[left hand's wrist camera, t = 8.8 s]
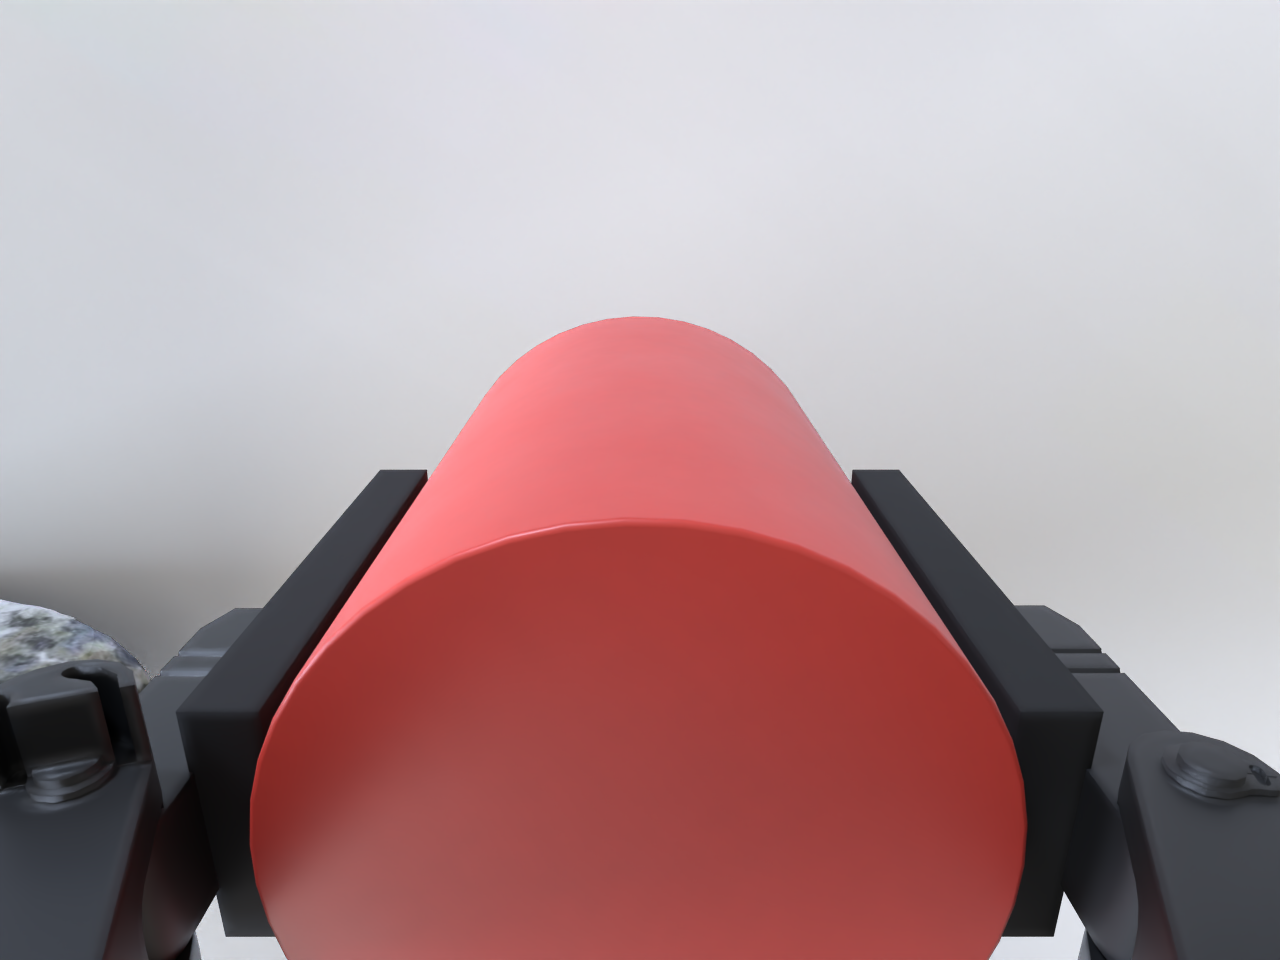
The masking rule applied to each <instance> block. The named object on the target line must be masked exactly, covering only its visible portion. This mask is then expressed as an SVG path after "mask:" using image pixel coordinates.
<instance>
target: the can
mask: <svg viewBox="0 0 1280 960" xmlns="http://www.w3.org/2000/svg"><path fill="white" fill-rule="evenodd" d="M1026 838H1027V812H1026V801H1025V790H1024V781H1023V777H1022V773H1021V769H1020V766H1019V762H1018V758H1017V754H1016V751H1015V747H1014V743H1013V740H1012V737H1011V735H1010V733H1009V731H1008V729H1007V727H1006V724H1005V722H1004V720H1003V718H1002V716H1001V713H1000V711H999V709H998V707H997V705H996V702H995V700H994V699H993V697H992V696H991V694H990V693H989V691H988V690H987V688H986V687H985V685H984V684H983V682H982V680H981V679H980V677H979V676H978V674H977V673H976V671H975V670H974V668H973V667H972V665H971V664H970V662H969V661H968V659H967V658H966V656H965V655H964V653H963V652H962V650H961V649H960V647H959V646H958V644H957V643H956V641H955V640H954V638H953V637H952V635H951V634H950V632H949V631H948V629H947V628H946V626H945V625H944V623H943V622H942V620H941V619H940V617H939V616H938V614H937V613H936V611H935V610H934V608H933V606H932V605H931V603H930V602H929V600H928V599H927V597H926V596H925V594H924V593H923V591H922V590H921V588H920V587H919V585H918V584H917V582H916V581H915V579H914V578H913V576H912V575H911V573H910V572H909V570H908V569H907V567H906V566H905V564H904V563H903V561H902V560H901V558H900V557H899V555H898V554H897V552H896V551H895V549H894V548H893V546H892V545H891V543H890V542H889V540H888V539H887V537H886V536H885V534H884V532H883V531H882V529H881V528H880V526H879V525H878V523H877V522H876V520H875V519H874V517H873V516H872V514H871V513H870V511H869V510H868V508H867V507H866V505H865V504H864V502H863V501H862V499H861V498H860V496H859V495H858V493H857V492H856V490H855V489H854V487H853V486H852V484H851V483H850V481H849V480H848V478H847V477H846V475H845V474H844V472H843V471H842V469H841V468H840V466H839V465H838V463H837V462H836V460H835V458H834V457H833V455H832V454H831V452H830V451H829V449H828V448H827V446H826V445H825V443H824V442H823V440H822V439H821V437H820V436H819V434H818V433H817V431H816V430H815V428H814V427H813V425H812V424H811V422H810V421H809V419H808V418H807V416H806V415H805V413H804V412H803V410H802V409H801V407H800V406H799V404H798V403H797V401H796V400H795V398H794V397H793V395H792V394H791V392H790V391H789V389H788V388H787V386H786V385H785V384H784V383H783V382H782V381H781V380H780V379H779V377H778V376H777V375H776V374H775V373H774V372H773V371H772V370H771V369H770V368H769V367H768V366H767V365H766V364H764V363H763V362H762V361H761V360H760V359H759V358H757V357H756V356H755V355H754V354H753V353H751V352H750V351H748V350H747V349H745V348H743V347H742V346H740V345H739V344H737V343H736V342H734V341H732V340H731V339H729V338H726V337H724V336H722V335H720V334H718V333H716V332H713V331H711V330H709V329H706V328H703V327H700V326H696V325H693V324H690V323H687V322H683V321H677V320H671V319H665V318H659V317H623V318H613V319H606V320H601V321H597V322H593V323H588V324H584V325H581V326H578V327H576V328H573V329H570V330H568V331H565V332H562V333H560V334H558V335H556V336H554V337H552V338H550V339H548V340H546V341H545V342H543V343H541V344H539V345H537V346H536V347H534V348H533V349H532V350H530V351H529V352H528V353H526V354H525V355H523V356H522V357H521V358H519V359H518V360H517V361H516V362H515V363H514V364H513V365H512V366H510V367H509V368H508V369H507V370H506V371H505V372H504V373H503V374H502V375H501V376H500V377H499V378H498V380H497V381H496V382H495V384H494V385H493V386H492V387H491V389H490V390H489V391H488V392H487V394H486V395H485V396H484V398H483V399H482V401H481V402H480V404H479V405H478V407H477V408H476V410H475V411H474V413H473V414H472V416H471V417H470V419H469V420H468V422H467V423H466V425H465V426H464V428H463V429H462V431H461V432H460V434H459V435H458V437H457V438H456V440H455V441H454V443H453V444H452V446H451V447H450V449H449V450H448V451H447V453H446V454H445V456H444V457H443V459H442V460H441V462H440V463H439V465H438V466H437V468H436V469H435V471H434V472H433V474H432V475H431V477H430V478H429V480H428V481H427V483H426V484H425V486H424V487H423V489H422V490H421V492H420V493H419V495H418V496H417V498H416V499H415V501H414V502H413V504H412V505H411V507H410V508H409V510H408V511H407V513H406V514H405V516H404V517H403V519H402V520H401V522H400V523H399V525H398V526H397V527H396V529H395V530H394V532H393V533H392V535H391V536H390V538H389V539H388V541H387V542H386V544H385V545H384V547H383V548H382V550H381V551H380V553H379V554H378V556H377V557H376V559H375V560H374V562H373V563H372V565H371V566H370V568H369V569H368V571H367V572H366V574H365V575H364V577H363V578H362V580H361V581H360V583H359V584H358V586H357V587H356V589H355V590H354V592H353V593H352V595H351V596H350V598H349V599H348V601H347V602H346V603H345V605H344V606H343V608H342V609H341V611H340V612H339V614H338V615H337V617H336V618H335V620H334V621H333V623H332V624H331V626H330V627H329V629H328V630H327V632H326V633H325V635H324V636H323V638H322V639H321V641H320V642H319V644H318V645H317V647H316V648H315V650H314V651H313V653H312V654H311V656H310V657H309V659H308V660H307V662H306V663H305V665H304V666H303V668H302V669H301V671H300V672H299V674H298V675H297V676H296V678H295V680H294V681H293V683H292V685H291V687H290V688H289V690H288V692H287V694H286V695H285V697H284V699H283V701H282V703H281V704H280V706H279V708H278V710H277V711H276V713H275V715H274V717H273V719H272V721H271V724H270V727H269V730H268V732H267V735H266V738H265V740H264V743H263V746H262V749H261V751H260V754H259V757H258V760H257V766H256V771H255V777H254V782H253V788H252V793H251V799H250V850H251V856H252V862H253V869H254V875H255V882H256V886H257V889H258V892H259V895H260V898H261V901H262V904H263V907H264V911H265V914H266V917H267V920H268V922H269V924H270V926H271V928H272V930H273V932H274V934H275V936H276V938H277V940H278V942H279V944H280V946H281V948H282V950H283V952H284V954H285V956H286V958H287V959H288V960H989V958H990V956H991V955H992V953H993V951H994V950H995V948H996V946H997V945H998V943H999V941H1000V939H1001V937H1002V934H1003V932H1004V929H1005V927H1006V925H1007V922H1008V920H1009V917H1010V915H1011V913H1012V910H1013V908H1014V905H1015V902H1016V898H1017V894H1018V890H1019V886H1020V882H1021V878H1022V873H1023V869H1024V864H1025V851H1026Z"/></svg>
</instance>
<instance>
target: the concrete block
mask: <svg viewBox="0 0 1280 960" xmlns="http://www.w3.org/2000/svg"><path fill="white" fill-rule="evenodd" d="M92 659H100V660H107V661H114V662H120V663H122V664H123V665H124V666H126V667H127V668H129V669H130V670H132V671H133V673H134V677H135V681H136V686H137V690H138V694H139V693H140V692H141V691H142V690H143V689H144V688H145V687H146V686H147V685H148V684H149V683H150V682H151V679H150V677H149V675H148V673H147V672H146V671H145V670H144V668H143V667H142V666H141V665H140V664H139V662H138V661H137V660H136V659H135V658H134V657H133V656H132V655H131V654H130V653H129V652H127V651H126V650H125V649H124V648H123V647H122V646H121V645H120V644H118V643H117V642H116V641H115V640H113V639H112V638H111V637H110V636H108V635H105V634H103V633H101V632H99V631H97V630H94V629H92V628H91V627H90V626H88V625H85V624H83V623H81V622H79V621H78V620H77V619H76V618H74V617H71V616H68V615H64V614H61V613H59V612H57V611H55V610H51V609H47V608H43V607H40V606H33V605H25V604H19V603H15V602H10V601H6V600H1V599H0V684H1V683H3V682H5V681H8V680H10V679H13V678H15V677H18V676H20V675H23V674H25V673H28V672H30V671H33V670H35V669H39V668H43V667H47V666H51V665H55V664H59V663H64V662H68V661H79V660H92Z"/></svg>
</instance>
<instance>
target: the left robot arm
mask: <svg viewBox="0 0 1280 960" xmlns="http://www.w3.org/2000/svg"><path fill="white" fill-rule="evenodd" d="M427 481H428V477H427V470H380V471H379V472H378V473H377V475H376V476H375V477H374V478H373V479H372V480H371V482H370V483H369V484H368V485H367V486H366V487H365V489H364V490H363V491H362V492H361V493H360V495H359V496H358V497H357V498H356V499H355V500H354V502H353V503H352V504H351V505H350V506H349V508H348V509H347V510H346V511H345V512H344V513H343V515H342V516H341V517H340V518H339V519H338V520H337V522H336V523H335V524H334V525H333V526H332V528H331V529H330V530H329V531H328V532H327V533H326V535H325V536H324V537H323V538H322V539H321V541H320V542H319V543H318V544H317V545H316V546H315V548H314V549H313V550H312V551H311V552H310V554H309V555H308V556H307V557H306V558H305V559H304V561H303V562H302V563H301V564H300V565H299V566H298V568H297V569H296V570H295V571H294V572H293V574H292V575H291V576H290V577H289V578H288V579H287V581H286V582H285V583H284V584H283V585H282V587H281V588H280V589H279V590H278V591H277V592H276V594H275V595H274V596H273V597H272V598H271V599H270V601H269V602H268V603H267V604H266V605H265V607H264V608H235V609H233V610H232V611H230V612H228V613H227V614H225V615H223V616H221V617H220V618H218V619H216V620H214V621H213V622H211V623H209V624H208V625H206V626H204V627H202V628H201V629H200V630H199V631H198V632H197V633H196V634H195V635H194V636H193V637H192V638H191V639H190V640H189V641H188V642H187V643H186V645H185V646H184V647H183V648H182V649H181V650H180V651H179V655H178V656H174V657H173V658H172V659H171V660H170V661H169V663H168V664H167V665H166V666H165V667H164V668H163V669H162V670H161V671H160V676H155V677H154V678H153V679H152V681H151V682H150V683H149V684H148V685H147V686H146V687H145V688H144V689H143V690H142V691H141V692H140V693H139V694H138V690H137V686H136V681H135V677H134V673H133V671H132V670H130V669H129V668H127V667H126V666H124V665H123V664H122V663H120V662H114V661H107V660H100V659H92V660H79V661H68V662H64V663H59V664H55V665H51V666H47V667H43V668H39V669H35V670H33V671H30V672H28V673H25V674H23V675H20V676H18V677H15V678H13V679H10V680H8V681H5V682H3V683H1V684H0V960H201V955H200V948H199V944H198V940H197V936H196V932H195V930H196V928H197V926H198V925H199V923H200V921H201V919H202V918H203V916H204V914H205V913H206V911H207V909H208V907H209V906H210V904H211V902H212V901H213V899H214V897H215V895H217V900H218V904H219V908H220V913H221V917H222V922H223V926H224V931H225V935H226V937H276V936H275V934H274V932H273V930H272V928H271V926H270V924H269V922H268V920H267V917H266V914H265V911H264V907H263V904H262V901H261V898H260V895H259V892H258V889H257V886H256V882H255V875H254V869H253V862H252V856H251V850H250V799H251V793H252V788H253V782H254V777H255V771H256V766H257V760H258V757H259V754H260V751H261V749H262V746H263V743H264V740H265V738H266V735H267V732H268V730H269V727H270V724H271V721H272V719H273V717H274V715H275V713H276V711H277V710H278V708H279V706H280V704H281V703H282V701H283V699H284V697H285V695H286V694H287V692H288V690H289V688H290V687H291V685H292V683H293V681H294V680H295V678H296V676H297V675H298V674H299V672H300V671H301V669H302V668H303V666H304V665H305V663H306V662H307V660H308V659H309V657H310V656H311V654H312V653H313V651H314V650H315V648H316V647H317V645H318V644H319V642H320V641H321V639H322V638H323V636H324V635H325V633H326V632H327V630H328V629H329V627H330V626H331V624H332V623H333V621H334V620H335V618H336V617H337V615H338V614H339V612H340V611H341V609H342V608H343V606H344V605H345V603H346V602H347V601H348V599H349V598H350V596H351V595H352V593H353V592H354V590H355V589H356V587H357V586H358V584H359V583H360V581H361V580H362V578H363V577H364V575H365V574H366V572H367V571H368V569H369V568H370V566H371V565H372V563H373V562H374V560H375V559H376V557H377V556H378V554H379V553H380V551H381V550H382V548H383V547H384V545H385V544H386V542H387V541H388V539H389V538H390V536H391V535H392V533H393V532H394V530H395V529H396V527H397V526H398V525H399V523H400V522H401V520H402V519H403V517H404V516H405V514H406V513H407V511H408V510H409V508H410V507H411V505H412V504H413V502H414V501H415V499H416V498H417V496H418V495H419V493H420V492H421V490H422V489H423V487H424V486H425V484H426V483H427ZM851 484H852V486H853V487H854V489H855V490H856V492H857V493H858V495H859V496H860V498H861V499H862V501H863V502H864V504H865V505H866V507H867V508H868V510H869V511H870V513H871V514H872V516H873V517H874V519H875V520H876V522H877V523H878V525H879V526H880V528H881V529H882V531H883V532H884V534H885V536H886V537H887V539H888V540H889V542H890V543H891V545H892V546H893V548H894V549H895V551H896V552H897V554H898V555H899V557H900V558H901V560H902V561H903V563H904V564H905V566H906V567H907V569H908V570H909V572H910V573H911V575H912V576H913V578H914V579H915V581H916V582H917V584H918V585H919V587H920V588H921V590H922V591H923V593H924V594H925V596H926V597H927V599H928V600H929V602H930V603H931V605H932V606H933V608H934V610H935V611H936V613H937V614H938V616H939V617H940V619H941V620H942V622H943V623H944V625H945V626H946V628H947V629H948V631H949V632H950V634H951V635H952V637H953V638H954V640H955V641H956V643H957V644H958V646H959V647H960V649H961V650H962V652H963V653H964V655H965V656H966V658H967V659H968V661H969V662H970V664H971V665H972V667H973V668H974V670H975V671H976V673H977V674H978V676H979V677H980V679H981V680H982V682H983V684H984V685H985V687H986V688H987V690H988V691H989V693H990V694H991V696H992V697H993V699H994V700H995V702H996V705H997V707H998V709H999V711H1000V713H1001V716H1002V718H1003V720H1004V722H1005V724H1006V727H1007V729H1008V731H1009V733H1010V735H1011V737H1012V740H1013V743H1014V747H1015V751H1016V754H1017V758H1018V762H1019V766H1020V769H1021V773H1022V777H1023V781H1024V790H1025V801H1026V812H1027V838H1026V851H1025V864H1024V869H1023V873H1022V878H1021V882H1020V886H1019V890H1018V894H1017V898H1016V902H1015V905H1014V908H1013V910H1012V913H1011V915H1010V917H1009V920H1008V922H1007V925H1006V927H1005V929H1004V932H1003V934H1002V937H1054V933H1055V928H1056V924H1057V919H1058V915H1059V910H1060V906H1061V901H1062V897H1063V892H1065V894H1066V895H1067V897H1068V899H1069V901H1070V902H1071V904H1072V906H1073V907H1074V909H1075V911H1076V913H1077V914H1078V916H1079V918H1080V919H1081V921H1082V923H1083V925H1084V926H1085V932H1084V936H1083V940H1082V944H1081V948H1080V953H1079V957H1078V960H1280V774H1279V773H1278V772H1276V771H1275V770H1274V769H1272V768H1271V767H1269V766H1268V765H1267V764H1265V763H1264V762H1262V761H1261V760H1260V759H1258V758H1257V757H1255V756H1254V755H1252V754H1250V753H1248V752H1245V751H1243V750H1241V749H1239V748H1237V747H1235V746H1232V745H1230V744H1228V743H1226V742H1224V741H1220V740H1217V739H1213V738H1210V737H1206V736H1203V735H1199V734H1195V733H1190V732H1180V731H1179V730H1178V729H1177V728H1176V727H1175V726H1174V724H1173V723H1172V722H1171V721H1170V720H1169V719H1168V718H1167V717H1166V716H1165V715H1164V714H1163V713H1162V712H1161V711H1160V710H1159V709H1158V708H1157V707H1156V706H1155V705H1154V703H1153V702H1152V701H1151V700H1150V699H1149V698H1148V697H1147V696H1146V695H1145V694H1144V693H1143V692H1142V691H1141V690H1140V689H1139V688H1138V687H1137V686H1136V685H1135V684H1134V682H1133V681H1132V680H1131V679H1130V678H1129V677H1128V676H1127V675H1126V674H1125V673H1120V668H1119V667H1118V666H1117V665H1116V664H1115V663H1114V661H1113V660H1112V659H1111V658H1110V657H1109V656H1108V655H1107V654H1106V653H1102V652H1101V648H1100V647H1099V646H1098V645H1097V644H1096V643H1095V642H1094V640H1093V639H1092V638H1091V637H1090V636H1089V635H1088V634H1087V633H1086V632H1085V631H1084V630H1083V629H1082V628H1081V627H1080V626H1079V625H1078V624H1076V623H1074V622H1072V621H1071V620H1069V619H1067V618H1065V617H1064V616H1062V615H1060V614H1058V613H1057V612H1055V611H1053V610H1051V609H1050V608H1048V607H1046V606H1014V605H1013V604H1012V603H1011V601H1010V600H1009V599H1008V598H1007V597H1006V595H1005V594H1004V593H1003V592H1002V591H1001V590H1000V588H999V587H998V586H997V585H996V584H995V583H994V581H993V580H992V579H991V578H990V577H989V575H988V574H987V573H986V572H985V571H984V570H983V568H982V567H981V566H980V565H979V564H978V562H977V561H976V560H975V559H974V558H973V557H972V555H971V554H970V553H969V552H968V551H967V549H966V548H965V547H964V546H963V545H962V544H961V542H960V541H959V540H958V539H957V538H956V537H955V535H954V534H953V533H952V532H951V531H950V529H949V528H948V527H947V526H946V525H945V524H944V522H943V521H942V520H941V519H940V518H939V516H938V515H937V514H936V513H935V512H934V511H933V509H932V508H931V507H930V506H929V505H928V503H927V502H926V501H925V500H924V499H923V498H922V496H921V495H920V494H919V493H918V492H917V491H916V489H915V488H914V487H913V486H912V485H911V483H910V482H909V481H908V480H907V479H906V478H905V476H904V475H903V474H902V473H901V472H900V470H853V471H852V482H851Z"/></svg>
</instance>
